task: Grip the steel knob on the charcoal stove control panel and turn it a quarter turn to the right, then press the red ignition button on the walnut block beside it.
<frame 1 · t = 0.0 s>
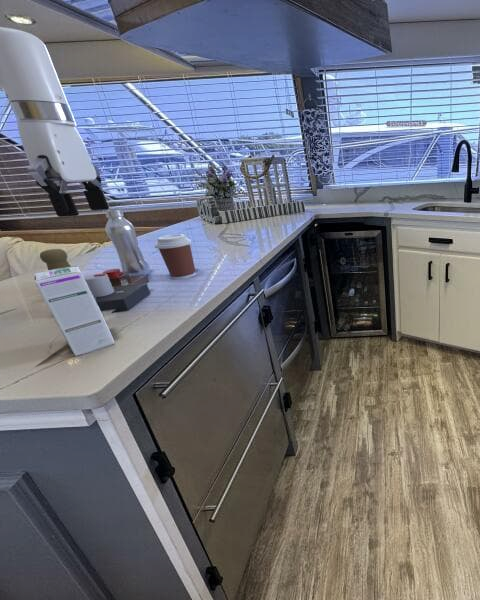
hand: (85, 212, 65), 22 cm above the worktop, tool pointing down, fingers open, 9 cm apart
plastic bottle: (139, 277, 99), on the worktop
syrup box: (93, 346, 60), on the worktop
coffee cup: (184, 276, 98), on the worktop
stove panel: (107, 305, 78), on the worktop
stove knob: (98, 284, 76), point 5 cm above the worktop, hinge at 0.0°
ignition button: (112, 273, 87), point 4 cm above the worktop, slide at 0.1 cm
cork: (69, 287, 92), on the worktop
ignition block: (118, 289, 89), on the worktop
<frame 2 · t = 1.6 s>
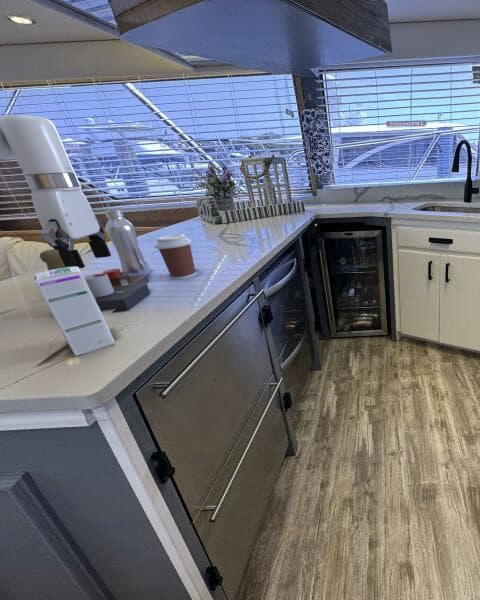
hand: (90, 262, 74), 11 cm above the worktop, tool pointing down, fingers open, 9 cm apart
nothing on the worktop moved.
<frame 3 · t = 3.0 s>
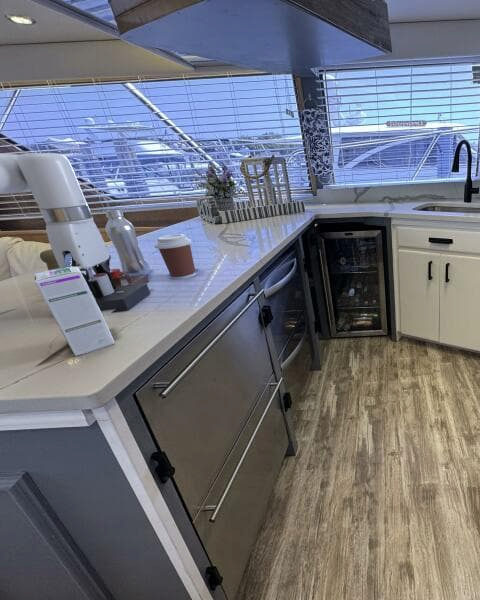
hand: (102, 292, 76), 3 cm above the worktop, tool pointing down, fingers closed on stove knob, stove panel, 4 cm apart
stove knob: (98, 284, 76), point 5 cm above the worktop, hinge at 0.0°, touching gripper
everything else where it was.
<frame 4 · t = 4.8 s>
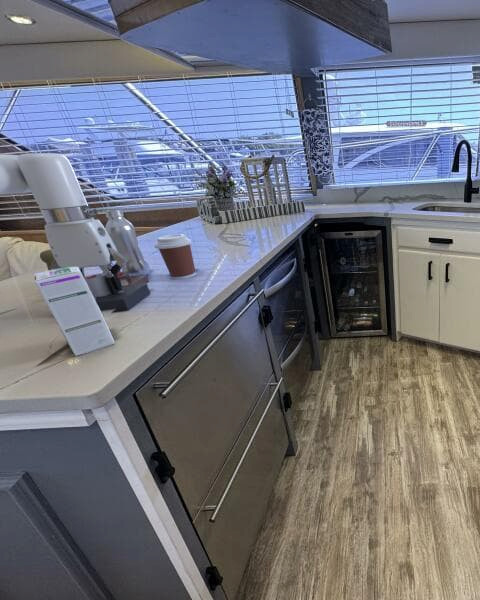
hand: (103, 292, 76), 3 cm above the worktop, tool pointing down, fingers open, 5 cm apart
stove knob: (98, 284, 76), point 5 cm above the worktop, hinge at -90.8°, touching gripper
everything else where it was.
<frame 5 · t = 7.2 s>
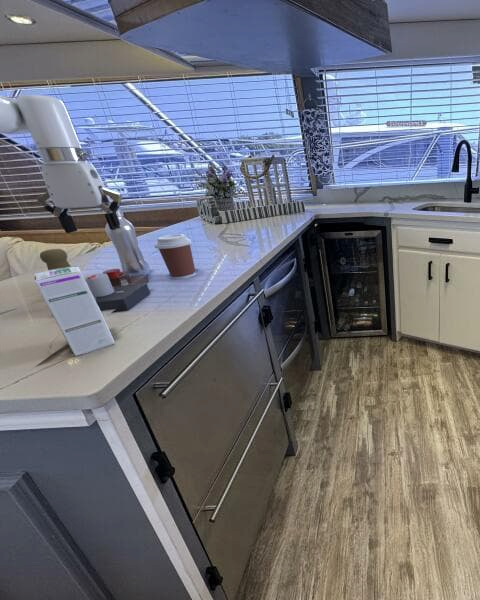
hand: (94, 230, 82), 16 cm above the worktop, tool pointing down, fingers open, 9 cm apart
stove knob: (98, 284, 76), point 5 cm above the worktop, hinge at -90.8°
everything else where it was.
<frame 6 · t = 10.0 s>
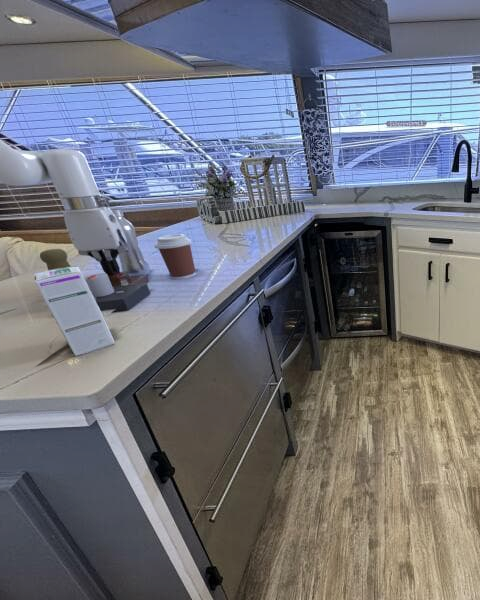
hand: (113, 274, 87), 4 cm above the worktop, tool pointing down, fingers closed
ignition button: (114, 277, 87), point 3 cm above the worktop, slide at -0.9 cm, touching gripper
everything else where it was.
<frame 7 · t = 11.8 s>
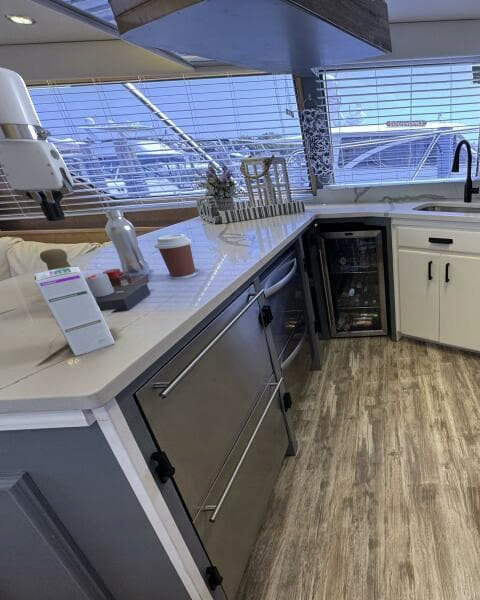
hand: (56, 220, 77), 20 cm above the worktop, tool pointing down, fingers closed
ignition button: (112, 273, 87), point 4 cm above the worktop, slide at 0.1 cm
everything else where it was.
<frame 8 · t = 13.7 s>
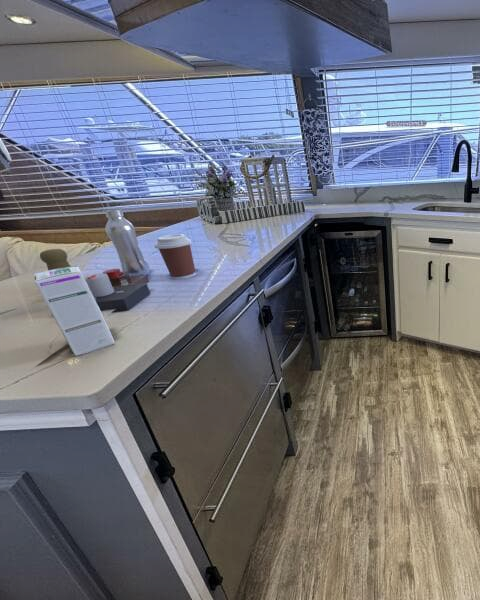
nothing on the worktop moved.
at the end: stove knob at -91° (first picture: +0°); ignition button pushed in 1.1 cm at the most during the clip, back to where it started at the end; ignition button slide at 0.1 cm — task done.
